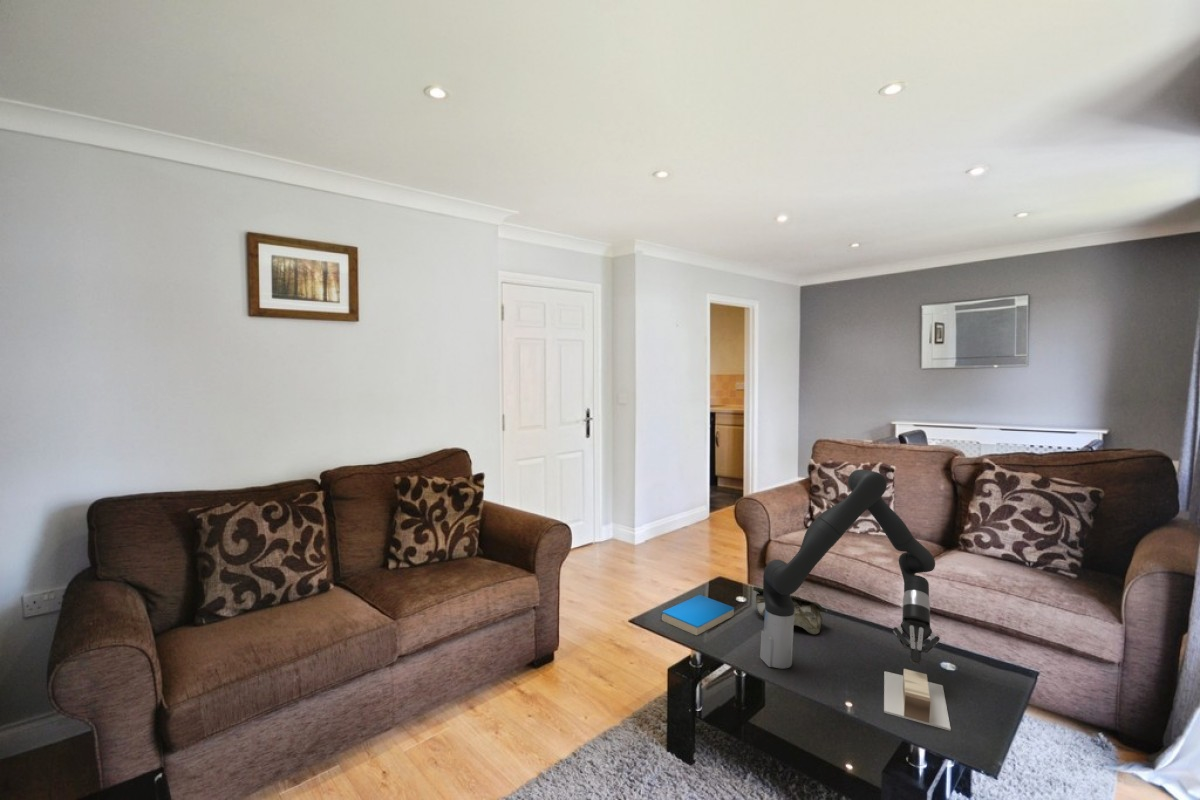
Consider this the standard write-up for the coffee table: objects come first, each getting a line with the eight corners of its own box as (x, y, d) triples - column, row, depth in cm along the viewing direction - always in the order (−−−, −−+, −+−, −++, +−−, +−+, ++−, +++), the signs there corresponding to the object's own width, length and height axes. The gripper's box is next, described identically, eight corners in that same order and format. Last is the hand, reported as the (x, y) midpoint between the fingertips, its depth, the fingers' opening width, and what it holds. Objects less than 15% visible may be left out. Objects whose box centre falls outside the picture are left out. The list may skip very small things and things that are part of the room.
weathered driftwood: (751, 623, 221) (739, 604, 212) (761, 595, 227) (750, 576, 219) (822, 645, 202) (813, 626, 194) (831, 614, 209) (822, 593, 201)
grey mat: (950, 730, 149) (950, 728, 149) (884, 712, 156) (884, 710, 156) (942, 687, 170) (942, 685, 170) (884, 672, 177) (884, 671, 177)
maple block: (925, 693, 165) (929, 723, 151) (902, 687, 168) (904, 716, 154) (926, 674, 165) (930, 701, 151) (903, 668, 168) (905, 695, 153)
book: (734, 607, 216) (698, 625, 198) (734, 618, 216) (697, 637, 199) (698, 593, 228) (660, 610, 210) (697, 604, 228) (660, 621, 211)
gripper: (893, 598, 175) (891, 653, 165) (941, 608, 169) (943, 665, 159) (892, 609, 180) (890, 662, 170) (939, 618, 174) (940, 674, 164)
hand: (915, 663), depth 164 cm, fingers closed
